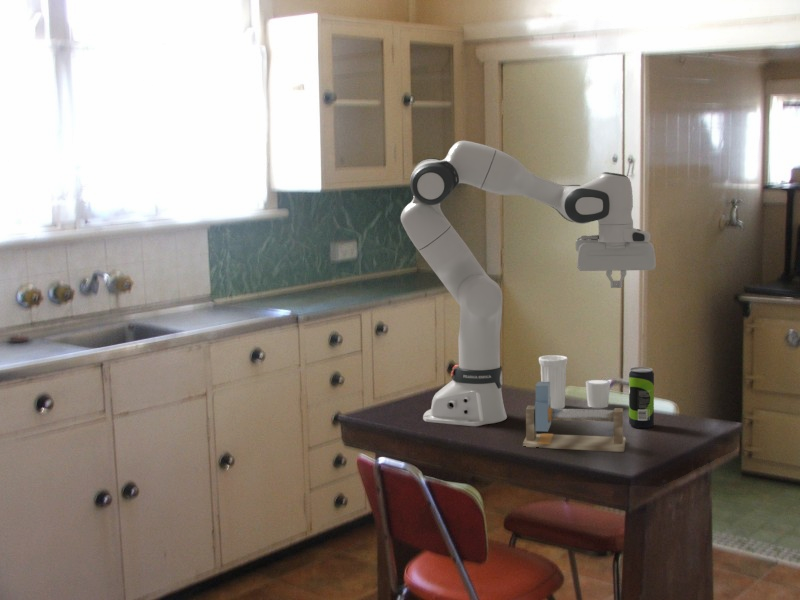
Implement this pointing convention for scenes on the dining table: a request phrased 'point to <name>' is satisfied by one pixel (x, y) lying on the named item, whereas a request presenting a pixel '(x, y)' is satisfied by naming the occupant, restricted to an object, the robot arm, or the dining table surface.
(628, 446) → the dining table surface
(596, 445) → the pipe stand
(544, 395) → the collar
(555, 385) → the cup
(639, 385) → the beverage can
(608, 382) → the small white cup
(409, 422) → the dining table surface
